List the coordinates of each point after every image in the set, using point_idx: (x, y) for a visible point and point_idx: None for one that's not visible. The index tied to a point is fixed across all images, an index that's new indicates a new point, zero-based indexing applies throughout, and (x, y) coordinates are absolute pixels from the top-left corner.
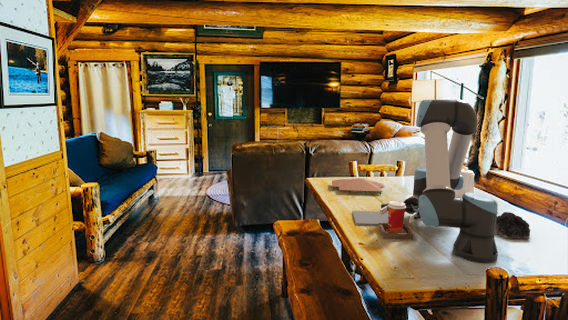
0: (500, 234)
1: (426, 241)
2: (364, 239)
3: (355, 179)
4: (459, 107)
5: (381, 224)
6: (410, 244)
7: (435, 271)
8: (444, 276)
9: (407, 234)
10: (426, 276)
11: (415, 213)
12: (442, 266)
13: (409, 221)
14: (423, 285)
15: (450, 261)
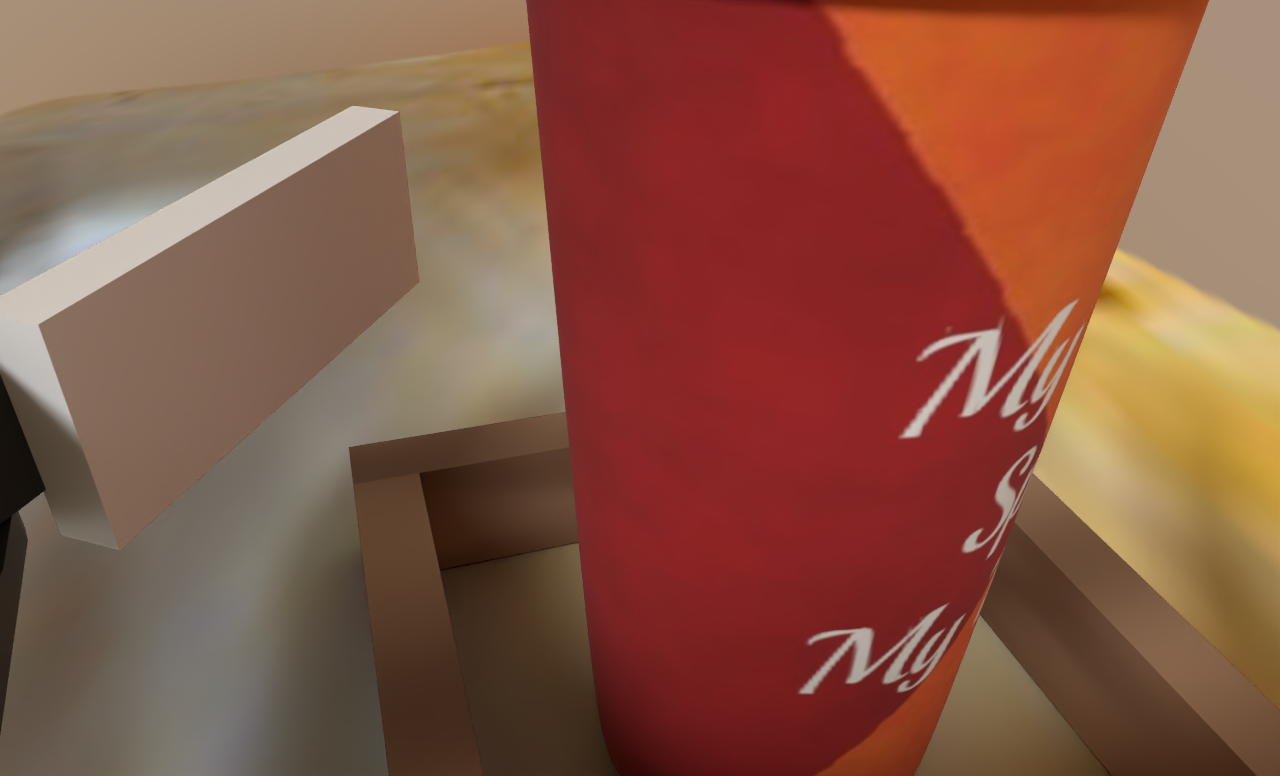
0: None
1: (102, 565)
2: (1131, 372)
3: None
4: None
5: (1237, 738)
6: (444, 409)
7: None
8: (251, 115)
9: (478, 430)
10: (389, 101)
11: (96, 257)
12: (200, 177)
13: (411, 256)
14: (430, 63)
15: (58, 234)
